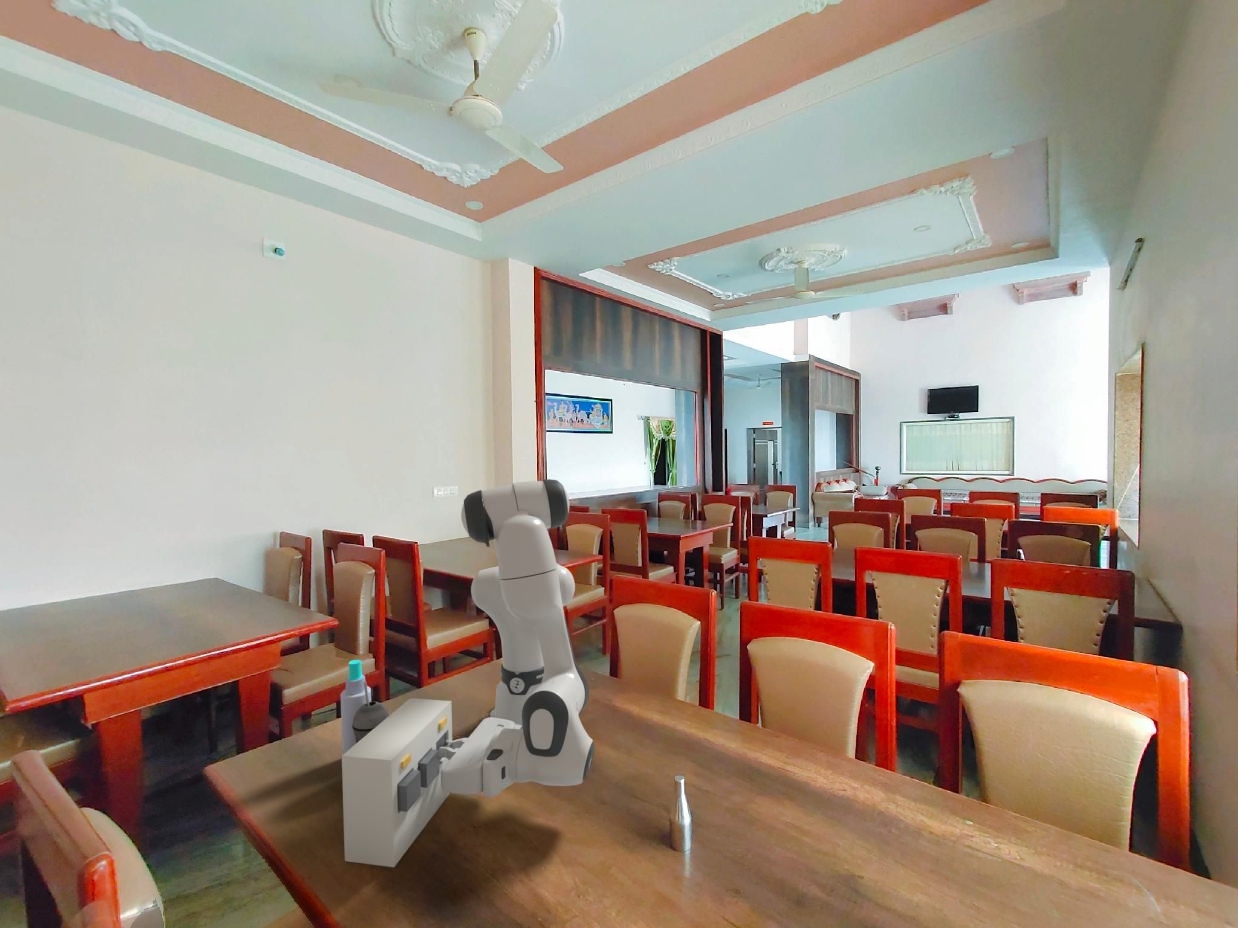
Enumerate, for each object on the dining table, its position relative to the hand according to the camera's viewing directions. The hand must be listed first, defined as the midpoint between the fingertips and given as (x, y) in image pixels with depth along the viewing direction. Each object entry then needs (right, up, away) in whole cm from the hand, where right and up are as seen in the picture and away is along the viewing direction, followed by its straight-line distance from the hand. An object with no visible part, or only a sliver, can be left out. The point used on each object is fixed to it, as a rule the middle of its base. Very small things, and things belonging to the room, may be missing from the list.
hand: (441, 748), depth 107 cm
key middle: (-1, -3, -6) cm, 7 cm away
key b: (-2, -2, 0) cm, 3 cm away
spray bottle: (-24, -10, +15) cm, 30 cm away
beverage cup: (-18, -11, +9) cm, 22 cm away
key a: (-2, -3, -13) cm, 13 cm away
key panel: (-6, -11, -5) cm, 13 cm away
